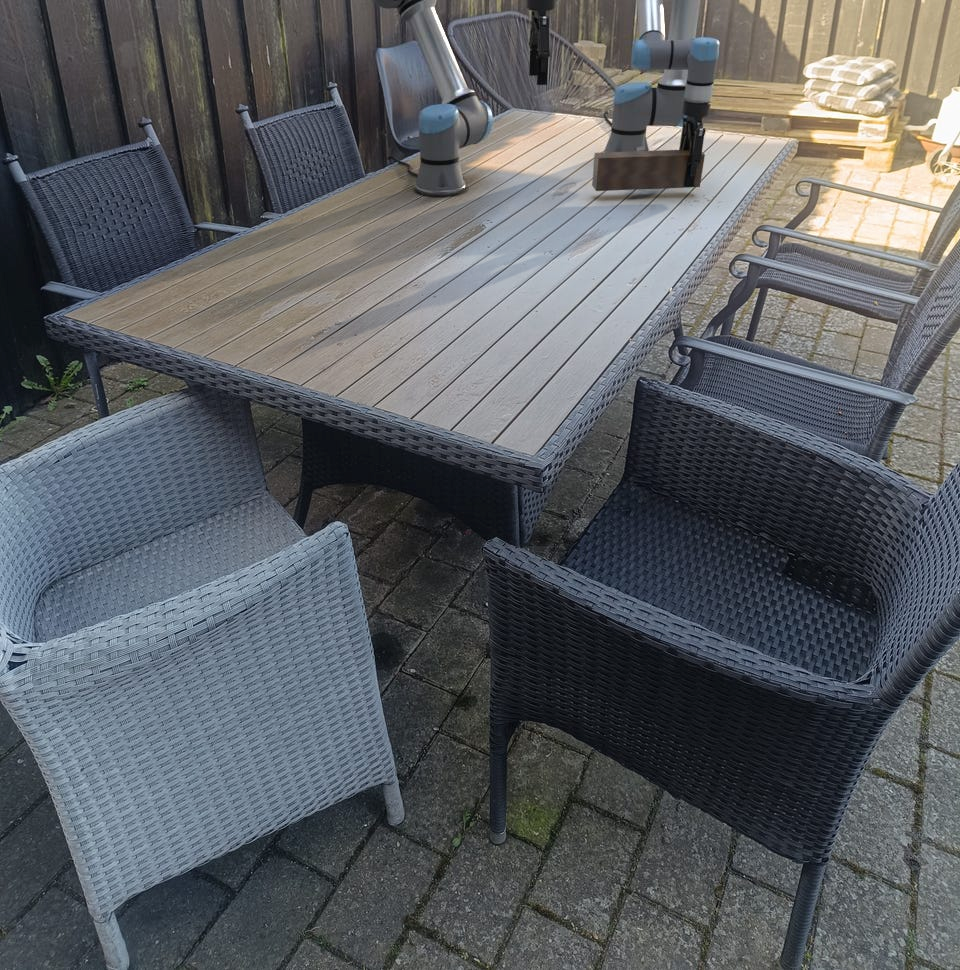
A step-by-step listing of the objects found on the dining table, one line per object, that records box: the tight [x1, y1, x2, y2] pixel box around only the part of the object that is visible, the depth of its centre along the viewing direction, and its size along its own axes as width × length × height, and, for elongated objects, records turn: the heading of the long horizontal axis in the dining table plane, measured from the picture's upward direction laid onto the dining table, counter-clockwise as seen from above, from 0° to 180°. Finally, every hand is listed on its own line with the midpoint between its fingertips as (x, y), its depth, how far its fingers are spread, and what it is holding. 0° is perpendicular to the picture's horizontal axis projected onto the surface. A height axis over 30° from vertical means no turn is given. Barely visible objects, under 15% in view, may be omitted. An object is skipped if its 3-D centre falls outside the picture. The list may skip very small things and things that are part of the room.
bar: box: [591, 149, 706, 192], centre depth 249 cm, size 32×6×10 cm, turn 96°
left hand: (537, 80), depth 236 cm, fingers open, 13 cm apart
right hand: (685, 182), depth 252 cm, fingers closed on bar, 5 cm apart
